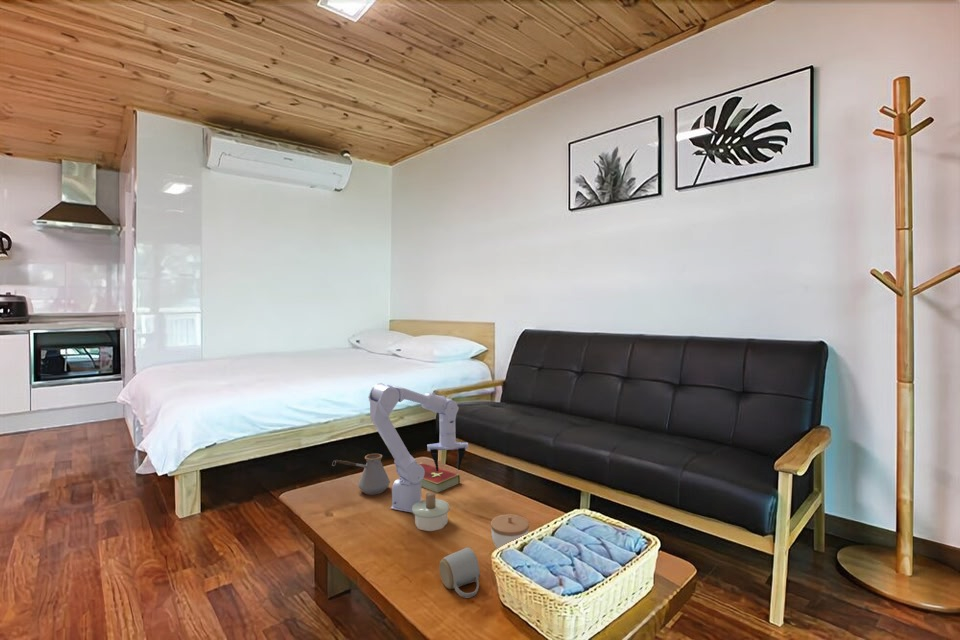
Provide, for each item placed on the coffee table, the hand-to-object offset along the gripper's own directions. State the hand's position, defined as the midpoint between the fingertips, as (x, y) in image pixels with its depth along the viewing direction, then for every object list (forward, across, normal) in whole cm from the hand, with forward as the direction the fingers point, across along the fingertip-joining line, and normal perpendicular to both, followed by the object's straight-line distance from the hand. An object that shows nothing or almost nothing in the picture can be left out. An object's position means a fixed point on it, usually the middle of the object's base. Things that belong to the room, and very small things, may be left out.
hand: (448, 469), depth 167 cm
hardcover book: (+10, -7, +14) cm, 19 cm away
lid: (+5, -6, -20) cm, 22 cm away
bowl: (+9, -6, -20) cm, 23 cm away
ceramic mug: (+10, +1, -54) cm, 54 cm away
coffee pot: (+10, -31, +6) cm, 33 cm away
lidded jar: (+10, +15, -39) cm, 43 cm away
